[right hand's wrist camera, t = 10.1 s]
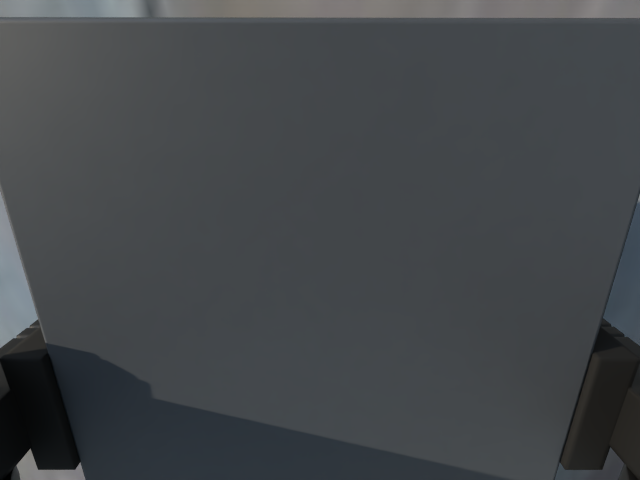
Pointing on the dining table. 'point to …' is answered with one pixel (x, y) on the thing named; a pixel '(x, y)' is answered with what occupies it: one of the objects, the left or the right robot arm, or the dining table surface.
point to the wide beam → (320, 236)
